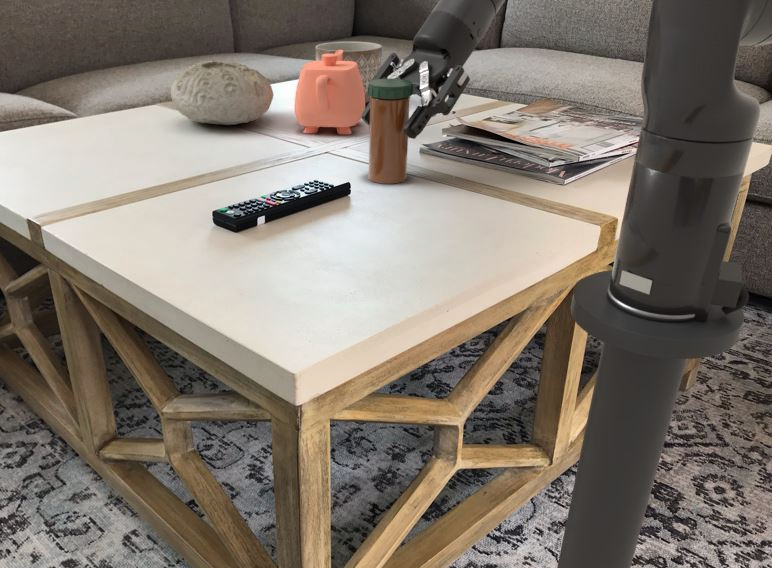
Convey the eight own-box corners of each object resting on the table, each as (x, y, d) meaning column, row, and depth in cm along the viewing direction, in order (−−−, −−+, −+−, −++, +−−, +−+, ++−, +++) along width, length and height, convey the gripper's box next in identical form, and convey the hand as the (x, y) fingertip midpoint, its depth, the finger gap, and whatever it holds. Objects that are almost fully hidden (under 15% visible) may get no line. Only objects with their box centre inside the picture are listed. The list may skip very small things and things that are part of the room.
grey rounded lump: (284, 113, 137) (282, 56, 133) (260, 136, 122) (256, 73, 117) (193, 110, 140) (188, 54, 136) (158, 133, 125) (151, 71, 120)
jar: (411, 175, 103) (415, 84, 97) (399, 185, 99) (402, 91, 93) (376, 170, 105) (378, 81, 99) (362, 181, 101) (364, 88, 95)
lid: (418, 92, 97) (418, 80, 97) (404, 100, 93) (404, 88, 92) (377, 88, 100) (377, 77, 99) (361, 97, 95) (361, 85, 94)
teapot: (357, 142, 118) (358, 64, 112) (285, 140, 120) (282, 62, 114) (371, 115, 135) (372, 45, 129) (307, 113, 137) (306, 44, 131)
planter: (380, 95, 150) (381, 41, 145) (380, 109, 139) (381, 50, 134) (318, 95, 151) (317, 41, 146) (313, 108, 140) (312, 51, 135)
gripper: (404, 4, 101) (338, 102, 100) (482, 13, 91) (408, 121, 90) (430, 42, 106) (367, 135, 106) (506, 54, 96) (437, 156, 96)
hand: (386, 128), depth 98 cm, fingers open, 8 cm apart
